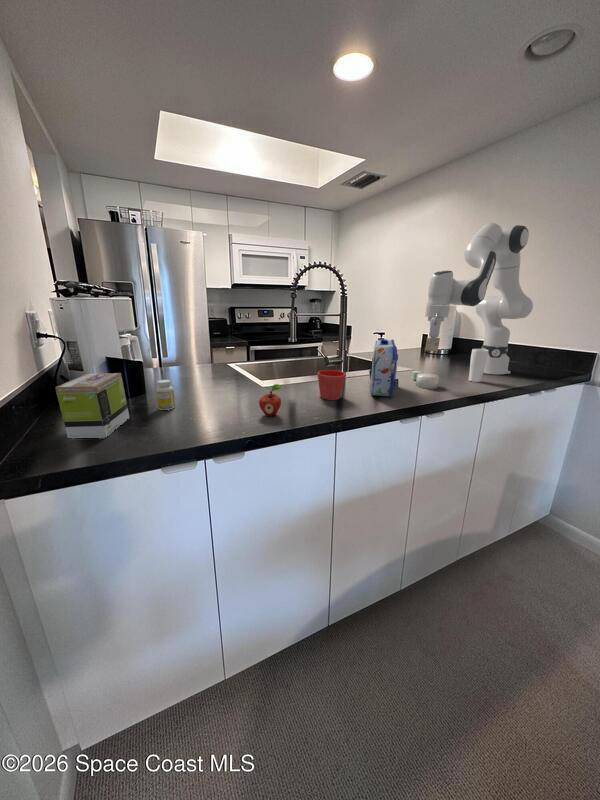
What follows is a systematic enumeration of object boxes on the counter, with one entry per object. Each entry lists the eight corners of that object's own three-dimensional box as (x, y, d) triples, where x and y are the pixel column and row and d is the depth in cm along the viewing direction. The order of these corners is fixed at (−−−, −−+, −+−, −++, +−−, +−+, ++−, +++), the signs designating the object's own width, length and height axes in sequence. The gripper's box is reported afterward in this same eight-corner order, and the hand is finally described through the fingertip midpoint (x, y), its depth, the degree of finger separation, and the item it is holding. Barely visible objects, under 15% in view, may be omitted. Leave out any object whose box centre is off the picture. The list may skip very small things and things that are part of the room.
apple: (272, 420, 98) (271, 389, 95) (255, 416, 101) (254, 386, 98) (286, 413, 104) (286, 384, 101) (269, 409, 108) (269, 381, 105)
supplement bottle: (167, 412, 104) (163, 383, 101) (154, 409, 106) (151, 382, 103) (178, 407, 109) (175, 380, 106) (166, 405, 111) (163, 378, 108)
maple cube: (425, 348, 138) (427, 337, 137) (437, 349, 137) (439, 338, 135) (425, 350, 134) (426, 338, 133) (437, 351, 132) (439, 339, 131)
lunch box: (397, 402, 118) (404, 342, 111) (369, 400, 120) (374, 341, 113) (392, 384, 143) (397, 334, 137) (369, 382, 145) (373, 334, 139)
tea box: (96, 419, 97) (87, 372, 93) (130, 418, 98) (123, 372, 93) (66, 440, 83) (53, 385, 78) (106, 439, 84) (96, 385, 79)
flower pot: (347, 395, 125) (349, 371, 122) (339, 403, 116) (340, 377, 113) (322, 392, 129) (323, 368, 126) (312, 399, 120) (313, 374, 117)
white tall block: (478, 379, 153) (484, 348, 149) (485, 383, 147) (491, 350, 142) (464, 379, 154) (469, 348, 150) (470, 382, 148) (476, 350, 143)
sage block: (410, 378, 154) (411, 370, 153) (418, 379, 154) (419, 370, 153) (412, 380, 150) (413, 372, 149) (421, 380, 150) (422, 372, 149)
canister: (416, 383, 146) (417, 372, 144) (437, 385, 143) (439, 374, 141) (415, 387, 138) (416, 376, 137) (437, 390, 135) (439, 378, 133)
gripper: (446, 313, 120) (440, 349, 125) (444, 312, 139) (439, 344, 143) (428, 312, 123) (423, 348, 127) (429, 312, 141) (424, 343, 145)
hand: (432, 346), depth 135 cm, fingers closed on maple cube, 5 cm apart
